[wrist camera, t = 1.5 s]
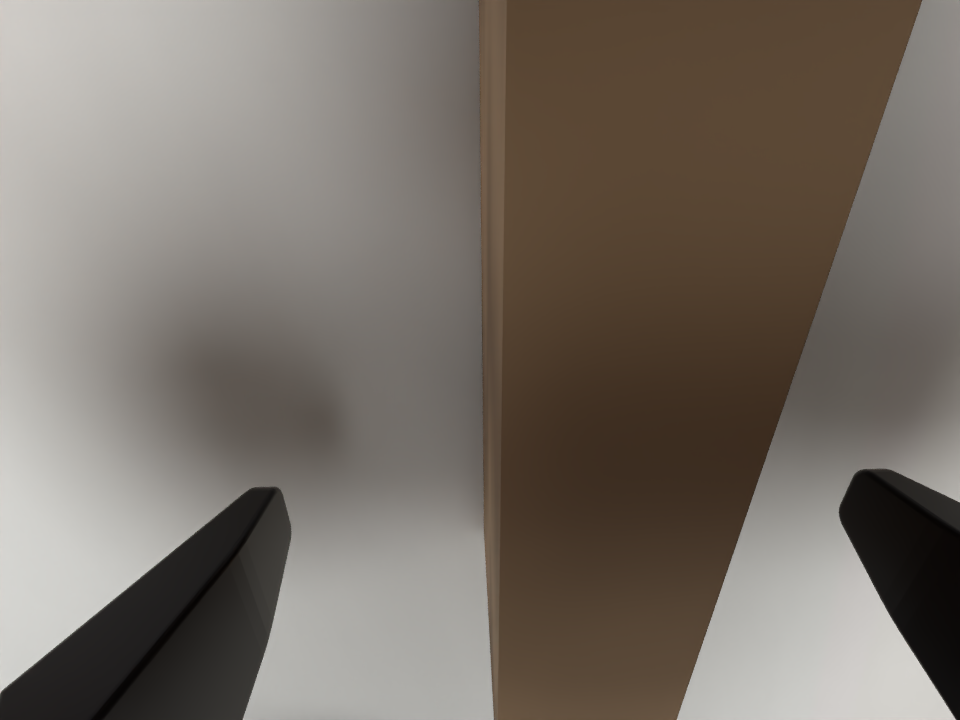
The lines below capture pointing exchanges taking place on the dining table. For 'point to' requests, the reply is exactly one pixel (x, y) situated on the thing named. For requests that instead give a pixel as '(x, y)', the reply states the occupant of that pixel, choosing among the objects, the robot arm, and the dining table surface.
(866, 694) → the dining table surface
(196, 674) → the robot arm
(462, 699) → the dining table surface
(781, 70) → the brown wooden block
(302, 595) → the dining table surface
